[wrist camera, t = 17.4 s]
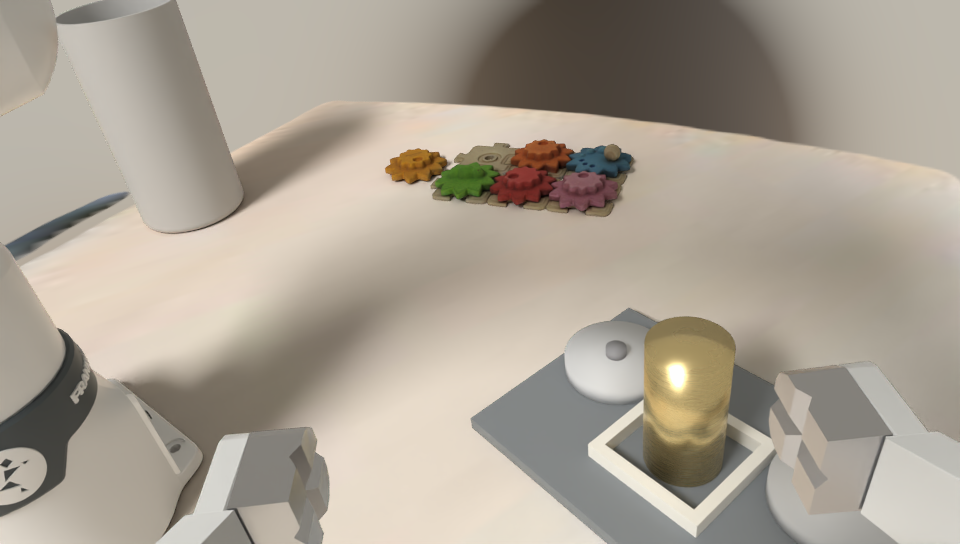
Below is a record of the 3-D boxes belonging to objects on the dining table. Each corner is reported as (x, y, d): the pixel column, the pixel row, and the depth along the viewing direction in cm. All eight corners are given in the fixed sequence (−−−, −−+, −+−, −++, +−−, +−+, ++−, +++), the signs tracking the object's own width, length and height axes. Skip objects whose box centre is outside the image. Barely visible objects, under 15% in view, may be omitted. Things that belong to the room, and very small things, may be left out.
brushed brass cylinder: (633, 474, 45) (634, 363, 40) (653, 419, 49) (656, 310, 44) (714, 497, 43) (727, 382, 38) (728, 437, 47) (741, 325, 41)
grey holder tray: (472, 427, 52) (467, 397, 50) (628, 316, 60) (629, 287, 58) (794, 704, 34) (805, 674, 32) (951, 493, 43) (966, 459, 41)
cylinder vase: (263, 203, 87) (193, -3, 72) (170, 247, 80) (73, 31, 66) (218, 177, 94) (147, -12, 80) (130, 216, 88) (35, 17, 74)
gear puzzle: (364, 198, 86) (357, 169, 83) (420, 143, 97) (416, 116, 95) (610, 223, 74) (609, 190, 72) (639, 157, 86) (640, 127, 84)
